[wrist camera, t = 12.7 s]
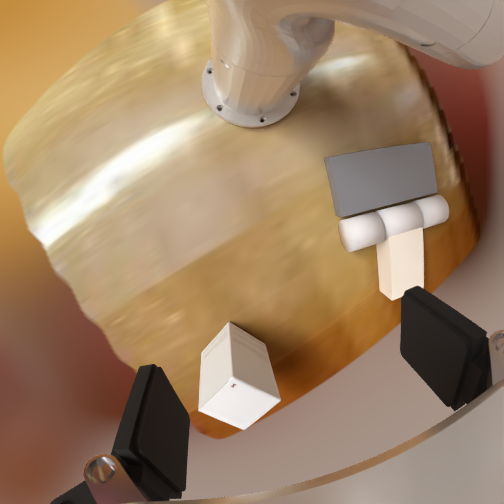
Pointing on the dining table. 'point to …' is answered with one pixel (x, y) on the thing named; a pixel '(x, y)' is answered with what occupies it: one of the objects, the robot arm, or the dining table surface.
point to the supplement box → (236, 378)
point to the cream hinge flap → (401, 250)
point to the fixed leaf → (382, 189)
